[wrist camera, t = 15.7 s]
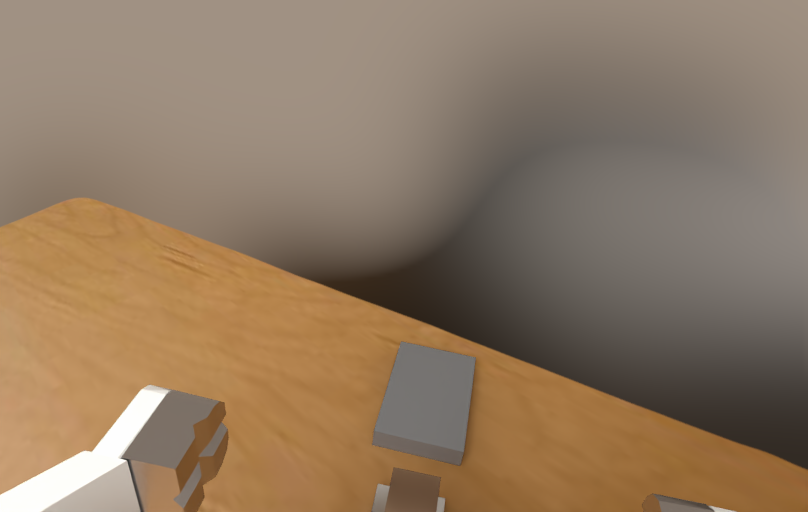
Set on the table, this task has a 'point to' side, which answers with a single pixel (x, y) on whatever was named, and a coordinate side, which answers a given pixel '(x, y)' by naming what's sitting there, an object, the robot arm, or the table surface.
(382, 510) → the brown and white bookend
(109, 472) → the robot arm
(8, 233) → the table surface
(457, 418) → the tile
